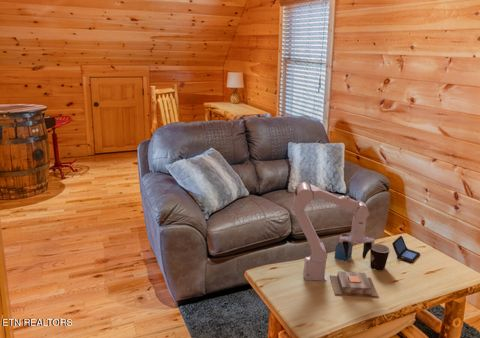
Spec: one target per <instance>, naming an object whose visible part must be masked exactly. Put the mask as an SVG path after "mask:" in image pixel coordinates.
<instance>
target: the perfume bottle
mask: <svg viewBox="0 0 480 338" xmlns="http://www.w3.org/2000/svg"><path fill="white" fill-rule="evenodd" d="M345 236H350V235H349V234H346V233H342V234H341V237H345ZM348 243H349V244H348V245H349V249H348V257H347V258H346V257H345V251H344V246H343V243H340V241H339V242H338V243H337V244H336V246H335V249H334V259H336V260H339V261H342V262H345V263H347V262H348V261H349V260H350V259H351V258H352V253H353V244H352V242H348Z"/></svg>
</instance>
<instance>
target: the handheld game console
mask: <svg viewBox="0 0 480 338" xmlns="http://www.w3.org/2000/svg"><path fill="white" fill-rule="evenodd" d="M391 243H392V247H393V250H394V252H395V254H396V259H397V260H401V261H403V262H406V263H409V264H413V263H414V262H415V261H416V259H418V258H419V257H420V255H421V253H420V252H418V251H415V250H412V249H410V248H408V247H407V245H406V243H405V240H404V238H403V236H402V235H400V236H399V237H397V238H396V239H395V240H394V241H392V242H391Z"/></svg>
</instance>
